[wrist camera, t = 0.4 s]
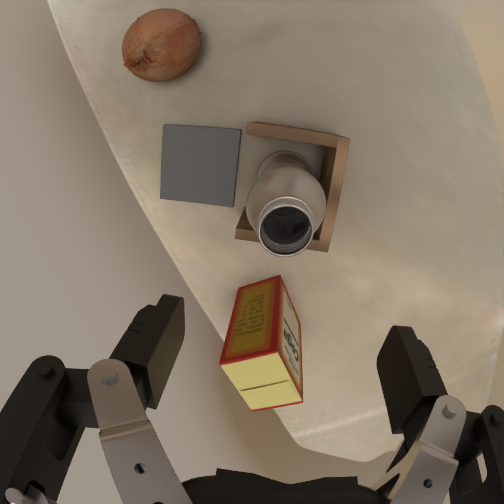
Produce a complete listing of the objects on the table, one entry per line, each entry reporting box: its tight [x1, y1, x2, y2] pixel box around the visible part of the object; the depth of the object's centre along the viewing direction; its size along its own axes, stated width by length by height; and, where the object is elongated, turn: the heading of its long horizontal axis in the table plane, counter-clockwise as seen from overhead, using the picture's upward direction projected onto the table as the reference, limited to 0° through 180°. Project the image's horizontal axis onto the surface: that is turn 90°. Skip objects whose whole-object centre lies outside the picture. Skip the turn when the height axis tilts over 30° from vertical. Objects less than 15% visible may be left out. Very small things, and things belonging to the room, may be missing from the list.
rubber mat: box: [160, 125, 242, 207], centre depth 37 cm, size 10×10×1 cm
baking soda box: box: [219, 275, 303, 411], centre depth 39 cm, size 10×6×16 cm
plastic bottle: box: [246, 151, 326, 257], centre depth 28 cm, size 6×7×20 cm
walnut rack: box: [235, 122, 350, 252], centre depth 34 cm, size 12×10×8 cm
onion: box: [122, 9, 201, 82], centre depth 27 cm, size 10×9×10 cm
